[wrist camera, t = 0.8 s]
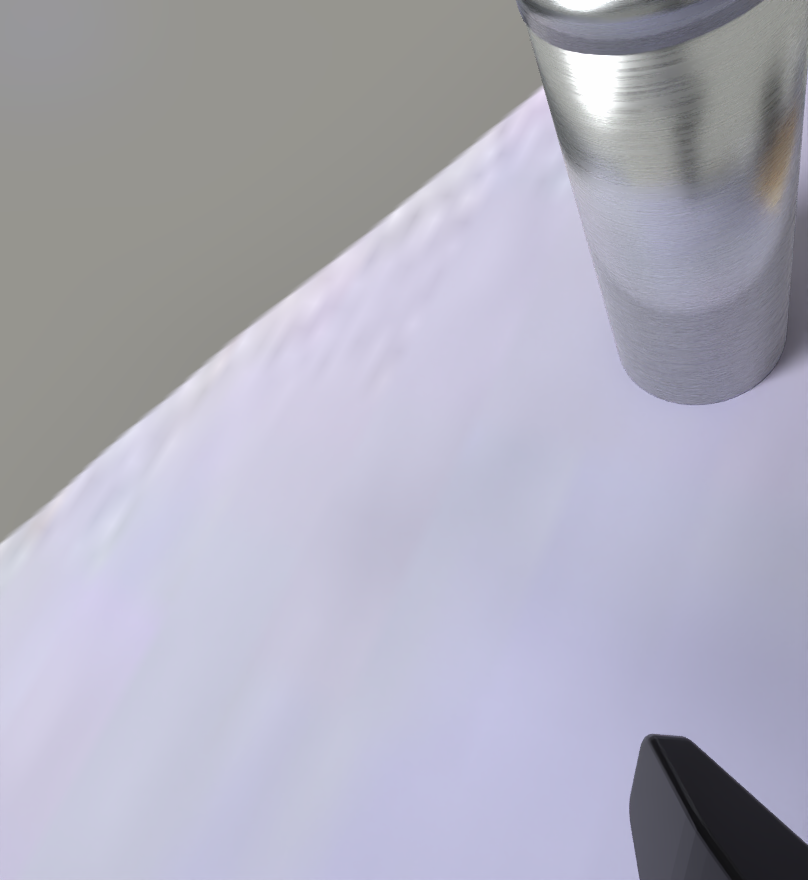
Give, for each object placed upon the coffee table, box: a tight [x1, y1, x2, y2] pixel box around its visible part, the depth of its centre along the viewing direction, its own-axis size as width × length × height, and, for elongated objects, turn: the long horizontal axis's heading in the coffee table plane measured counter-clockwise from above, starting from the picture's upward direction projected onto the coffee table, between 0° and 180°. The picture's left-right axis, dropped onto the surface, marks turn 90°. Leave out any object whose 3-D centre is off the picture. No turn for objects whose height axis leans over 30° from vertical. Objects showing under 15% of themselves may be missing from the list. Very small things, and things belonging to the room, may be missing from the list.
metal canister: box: [516, 0, 808, 405], centre depth 17 cm, size 5×5×13 cm
